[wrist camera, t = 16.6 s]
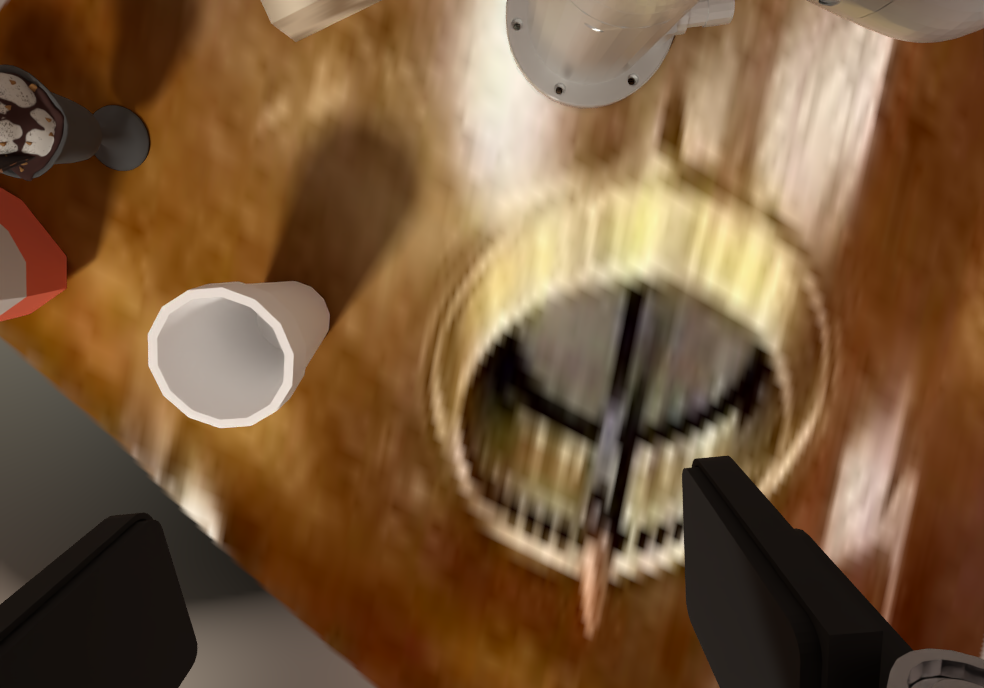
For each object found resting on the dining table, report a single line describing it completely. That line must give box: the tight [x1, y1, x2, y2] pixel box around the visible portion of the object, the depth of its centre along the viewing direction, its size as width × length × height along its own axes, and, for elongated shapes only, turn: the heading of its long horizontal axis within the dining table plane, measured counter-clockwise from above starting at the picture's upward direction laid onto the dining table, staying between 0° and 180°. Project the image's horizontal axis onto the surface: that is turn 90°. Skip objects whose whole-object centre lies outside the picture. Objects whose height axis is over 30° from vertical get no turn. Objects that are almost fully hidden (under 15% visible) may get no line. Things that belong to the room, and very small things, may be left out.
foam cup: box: [148, 281, 330, 428], centre depth 42 cm, size 10×9×13 cm
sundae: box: [0, 65, 149, 181], centre depth 37 cm, size 7×7×15 cm
